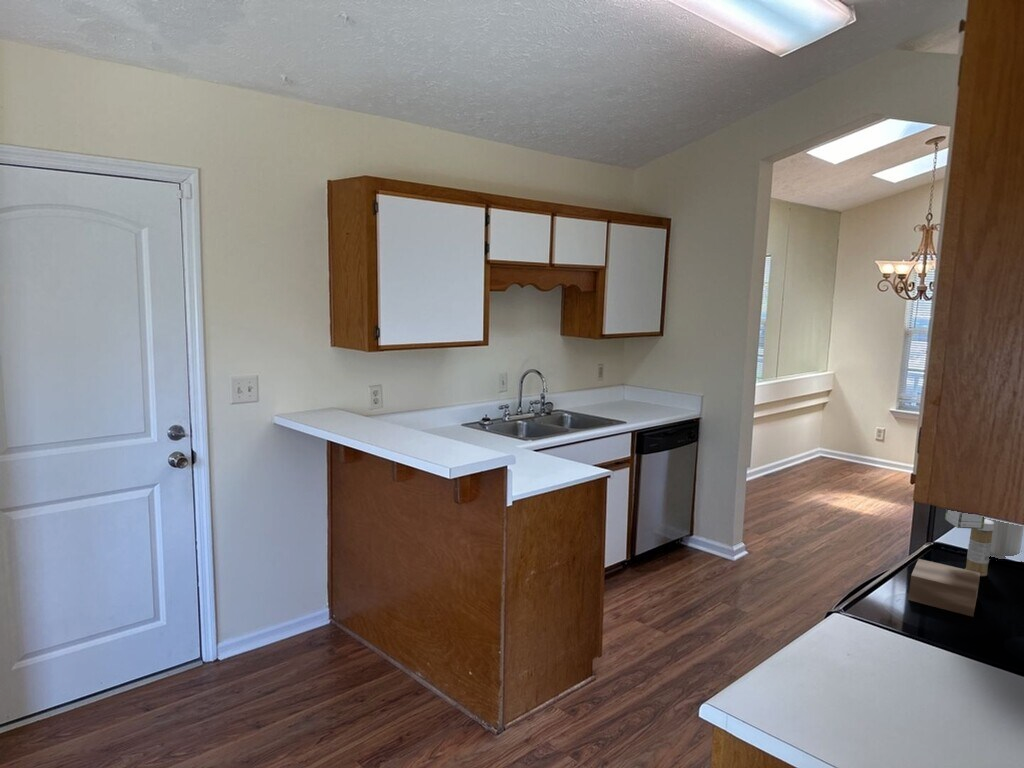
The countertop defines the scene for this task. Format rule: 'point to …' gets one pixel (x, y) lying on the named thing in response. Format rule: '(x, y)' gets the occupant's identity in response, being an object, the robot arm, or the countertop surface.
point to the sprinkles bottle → (980, 548)
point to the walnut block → (944, 587)
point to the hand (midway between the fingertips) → (966, 503)
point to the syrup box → (964, 520)
